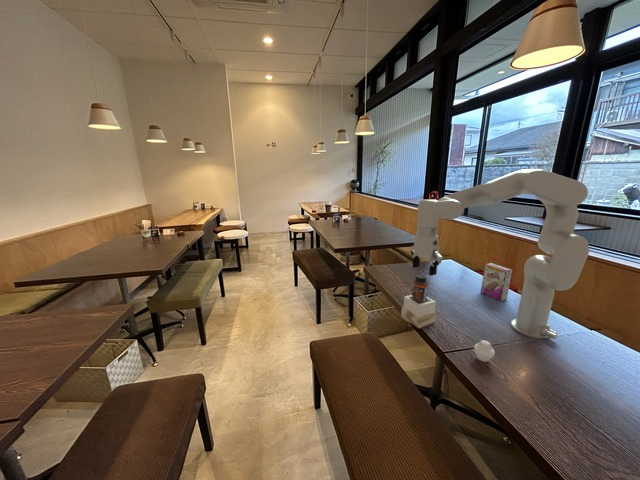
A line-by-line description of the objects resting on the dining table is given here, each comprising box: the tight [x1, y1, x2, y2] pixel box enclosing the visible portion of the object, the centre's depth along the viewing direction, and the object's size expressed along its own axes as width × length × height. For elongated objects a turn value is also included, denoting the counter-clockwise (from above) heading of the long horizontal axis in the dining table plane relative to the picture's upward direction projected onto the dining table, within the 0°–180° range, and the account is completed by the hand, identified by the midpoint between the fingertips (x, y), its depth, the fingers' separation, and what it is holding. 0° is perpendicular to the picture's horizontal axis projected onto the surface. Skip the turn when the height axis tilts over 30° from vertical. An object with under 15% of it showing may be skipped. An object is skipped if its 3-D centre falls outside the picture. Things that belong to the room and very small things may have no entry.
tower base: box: [400, 306, 437, 329], centre depth 113 cm, size 10×10×5 cm
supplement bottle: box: [411, 274, 429, 304], centre depth 111 cm, size 6×6×11 cm
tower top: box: [403, 294, 437, 317], centre depth 112 cm, size 9×9×5 cm
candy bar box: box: [480, 262, 513, 302], centre depth 132 cm, size 11×5×16 cm, turn 22°
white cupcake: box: [473, 339, 496, 363], centre depth 89 cm, size 6×6×7 cm
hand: (423, 270), depth 107 cm, fingers open, 9 cm apart
